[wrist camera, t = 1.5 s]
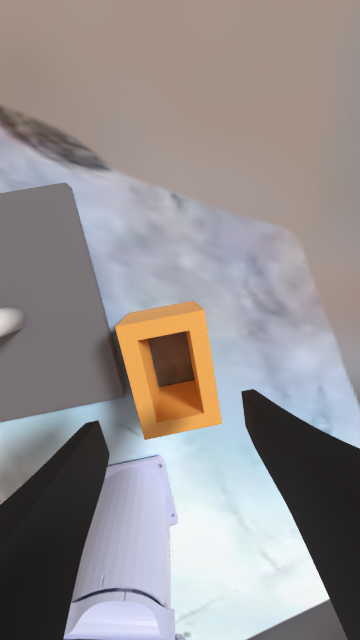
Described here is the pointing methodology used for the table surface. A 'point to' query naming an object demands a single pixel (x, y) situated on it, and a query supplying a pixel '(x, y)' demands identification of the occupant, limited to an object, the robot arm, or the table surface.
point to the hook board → (50, 309)
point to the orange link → (177, 399)
